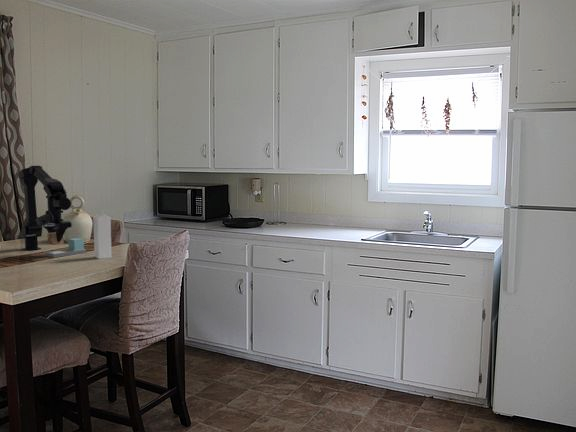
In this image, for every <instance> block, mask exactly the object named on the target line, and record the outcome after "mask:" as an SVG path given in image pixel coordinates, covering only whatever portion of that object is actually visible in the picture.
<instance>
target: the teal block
mask: <svg viewBox="0 0 576 432" xmlns="http://www.w3.org/2000/svg"><path fill="white" fill-rule="evenodd" d="M67 243H68V249H69V250H74V251H76V250H82V249H85V242H84V239H80V238H74V239H68V242H67Z"/></svg>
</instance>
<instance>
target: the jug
mask: <svg viewBox="0 0 576 432" xmlns="http://www.w3.org/2000/svg"><path fill="white" fill-rule="evenodd" d="M75 199H78V200H79V201H80V202H81V204H80V205H79V206H77V207H75V206H74V205H73V203H72V202H73V200H75ZM69 200H70V201H71V207H70V208H71V211H70V212H68V213H67V214H66V215H65V214H64V217H63V218H62V219H63V221H70V222H71V223H72V227H70V228H68V229H66V231H65V233H64V235H63V238H64V240H65V243H68V239H74V238H80V239H84V243H87V242H90V240H91V236H92V230H93V219H92V217H91V216H90V214H88V213H87V212H86V211H84V210H82V209H83V208H84V206H85V200H84V198H83V197H82V196H80V195H73V196H72V197H70V198H69Z"/></svg>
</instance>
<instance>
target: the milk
mask: <svg viewBox="0 0 576 432" xmlns="http://www.w3.org/2000/svg"><path fill="white" fill-rule="evenodd" d="M92 223H93V246H94V251H93V252H94V253H93V254H94V257H95V258H97V259H98V260H100V259H101V260H102V259H110V258H112V230H111V229H112V227H111V224H112V223H111V216H109V215H107V214H105V211H104V210H102V209H99V213H97V214H96V215H94V216H93V219H92Z"/></svg>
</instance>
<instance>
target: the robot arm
mask: <svg viewBox="0 0 576 432" xmlns="http://www.w3.org/2000/svg"><path fill="white" fill-rule="evenodd" d="M17 176H18V179H19V183H20V184H21V185H22V187H23V192H24V193H23V194H24V205H25V207H24V208H25V219H23V222H22V228H21V230H20V232H19V238H21V239H24V247H22V248H21V250H24V251H35V250H41V249H42V248H41V247H39V246H38V245H39V243H38V238H39V237H42V234H43V228H44V229H45V230H46V231H47V233H54V232H56V236H57V242H60V241H61V239H62V237H63V238H64V233H65V231H66V229H68V228H70V227H72V223H71V222H70V221H63V218H62V214H63V213H64V211H67V210H69V209H70V208H71V201H70V198H69V197H68V195H67V191H66V189H65V187H64V185H63V183H62V182H61V181H60V180H58V179H56V178H52V177H51V176H50V175H49V173H47V172H46V171H45V170H44V169H43V166H42V165H30V166H29V167H26V168H23V169H21V170H20V171H19V172H18V175H17ZM38 182H40V183H41V184H42V186H43V190H44V192H45V194H46V196H45V198H46V200H47V210H45V213H44V214H43V215H41V216H38V214H37V212H38V211H37V200H36V186H37V184H38Z"/></svg>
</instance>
